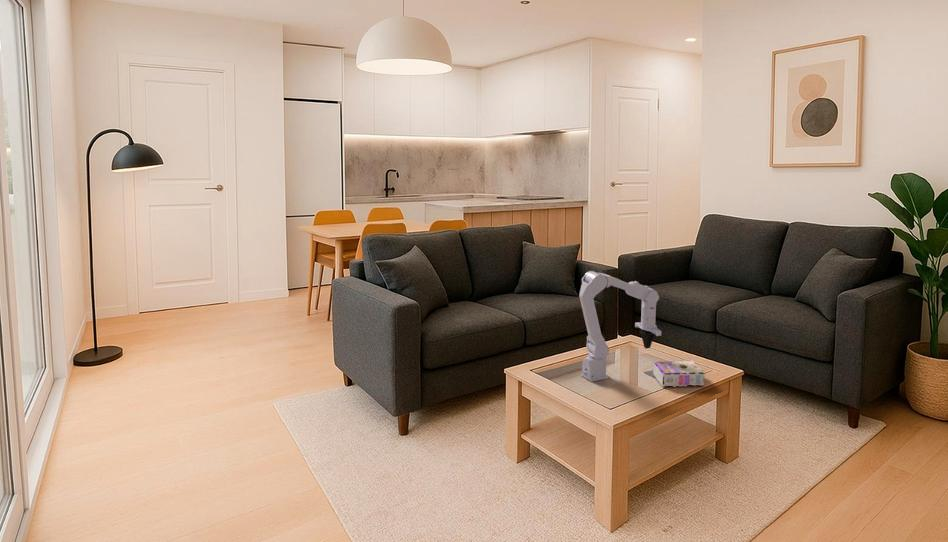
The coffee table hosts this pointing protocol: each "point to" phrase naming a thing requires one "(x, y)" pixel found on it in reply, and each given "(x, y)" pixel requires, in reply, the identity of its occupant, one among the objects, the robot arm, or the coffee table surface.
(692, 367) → the candy box
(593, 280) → the robot arm
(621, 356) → the coffee table surface
